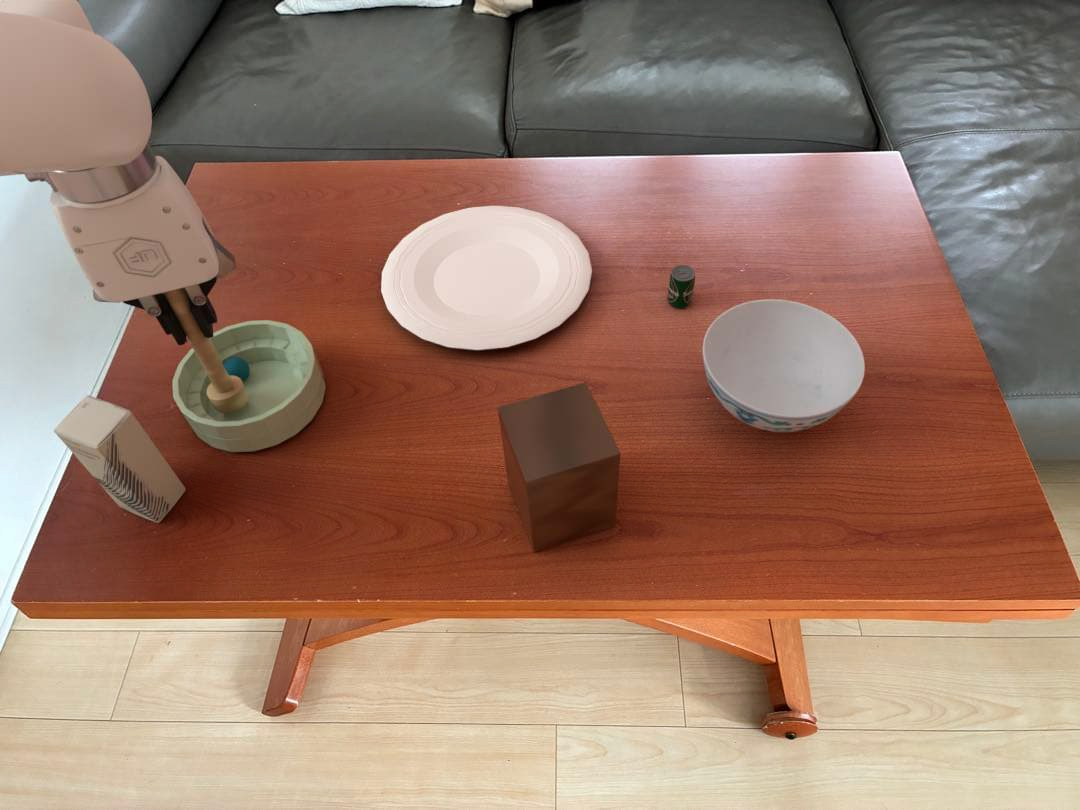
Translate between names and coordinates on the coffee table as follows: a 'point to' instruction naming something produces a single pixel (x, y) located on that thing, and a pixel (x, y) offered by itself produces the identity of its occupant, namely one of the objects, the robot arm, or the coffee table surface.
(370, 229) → the coffee table surface
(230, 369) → the ball
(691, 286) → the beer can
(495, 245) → the plate
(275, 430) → the bowl
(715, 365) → the chinaware
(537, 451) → the stand
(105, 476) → the box
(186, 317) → the stick
